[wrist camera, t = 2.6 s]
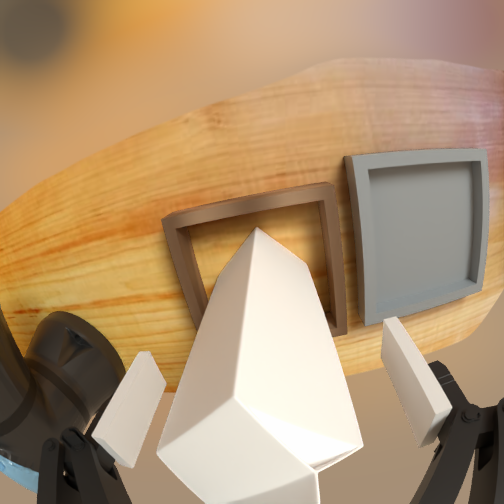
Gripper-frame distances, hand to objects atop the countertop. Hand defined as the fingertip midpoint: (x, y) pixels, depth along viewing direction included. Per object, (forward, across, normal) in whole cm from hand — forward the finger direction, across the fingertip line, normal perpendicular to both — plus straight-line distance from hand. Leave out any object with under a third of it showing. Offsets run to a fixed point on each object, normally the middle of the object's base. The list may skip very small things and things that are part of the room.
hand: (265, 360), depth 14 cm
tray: (+13, +16, +1) cm, 21 cm away
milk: (+13, 0, 0) cm, 13 cm away
